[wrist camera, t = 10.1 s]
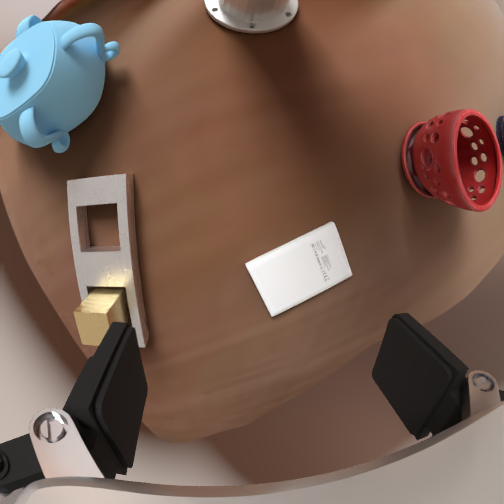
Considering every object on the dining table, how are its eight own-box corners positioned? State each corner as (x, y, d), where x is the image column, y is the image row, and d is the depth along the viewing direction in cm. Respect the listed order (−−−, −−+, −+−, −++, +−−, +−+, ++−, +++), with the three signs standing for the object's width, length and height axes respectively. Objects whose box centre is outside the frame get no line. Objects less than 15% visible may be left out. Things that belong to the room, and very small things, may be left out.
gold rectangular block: (101, 282, 33) (73, 311, 25) (128, 282, 34) (106, 313, 25) (106, 309, 35) (82, 344, 26) (133, 310, 35) (114, 346, 26)
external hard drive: (244, 262, 36) (330, 220, 36) (270, 312, 38) (348, 272, 38) (245, 266, 34) (335, 222, 34) (272, 318, 37) (353, 276, 36)
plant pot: (429, 217, 37) (485, 233, 26) (379, 161, 34) (438, 161, 22) (459, 157, 35) (512, 160, 24) (415, 100, 32) (470, 87, 20)
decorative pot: (8, 120, 25) (-51, 113, 12) (66, 29, 23) (22, -9, 10) (72, 166, 29) (7, 168, 16) (141, 61, 27) (106, 10, 14)
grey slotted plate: (77, 179, 30) (66, 180, 27) (133, 173, 31) (125, 173, 28) (99, 333, 35) (93, 344, 32) (149, 335, 36) (145, 347, 33)
